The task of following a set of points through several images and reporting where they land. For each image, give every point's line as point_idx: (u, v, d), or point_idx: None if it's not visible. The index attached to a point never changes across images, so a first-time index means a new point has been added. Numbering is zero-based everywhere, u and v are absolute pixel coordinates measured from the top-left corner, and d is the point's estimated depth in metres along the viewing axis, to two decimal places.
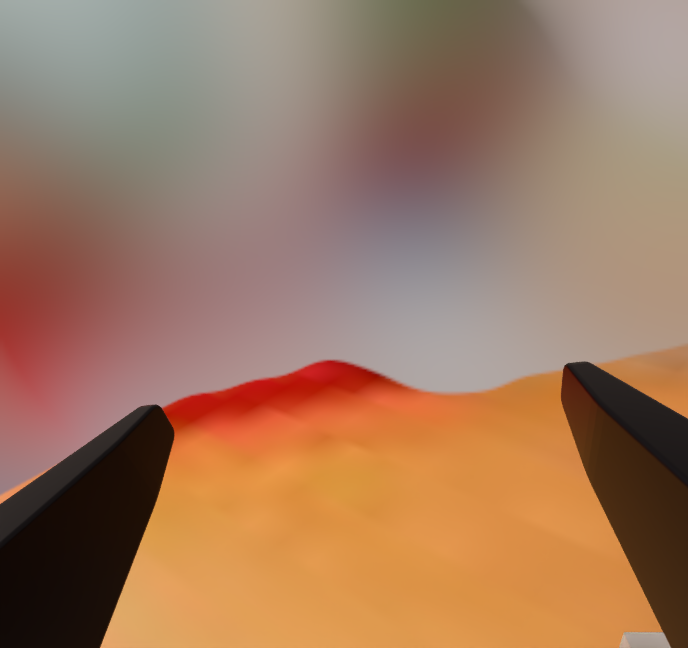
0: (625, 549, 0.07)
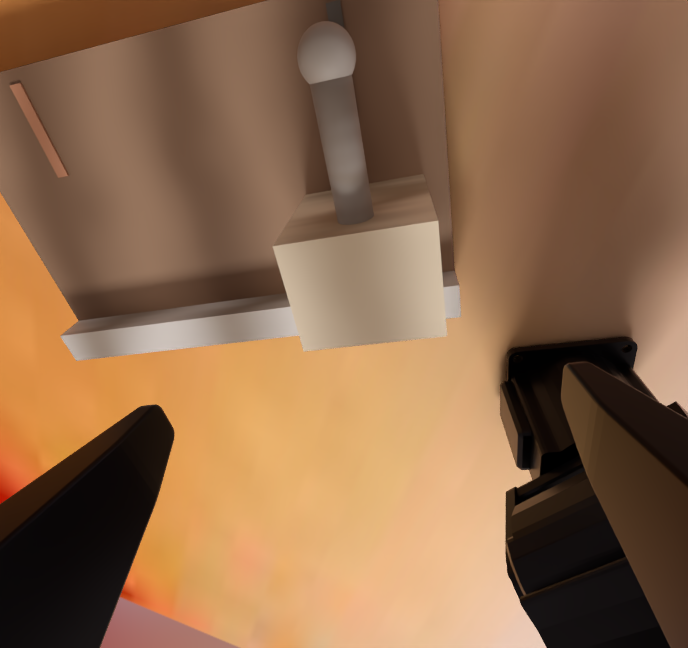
0: (625, 549, 0.07)
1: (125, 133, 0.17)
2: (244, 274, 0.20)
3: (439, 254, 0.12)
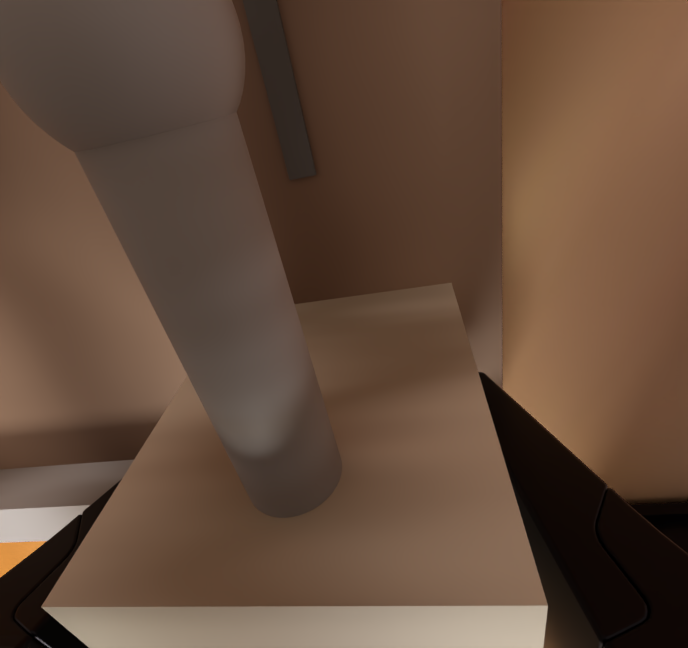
0: None
1: None
2: (138, 427, 0.12)
3: None
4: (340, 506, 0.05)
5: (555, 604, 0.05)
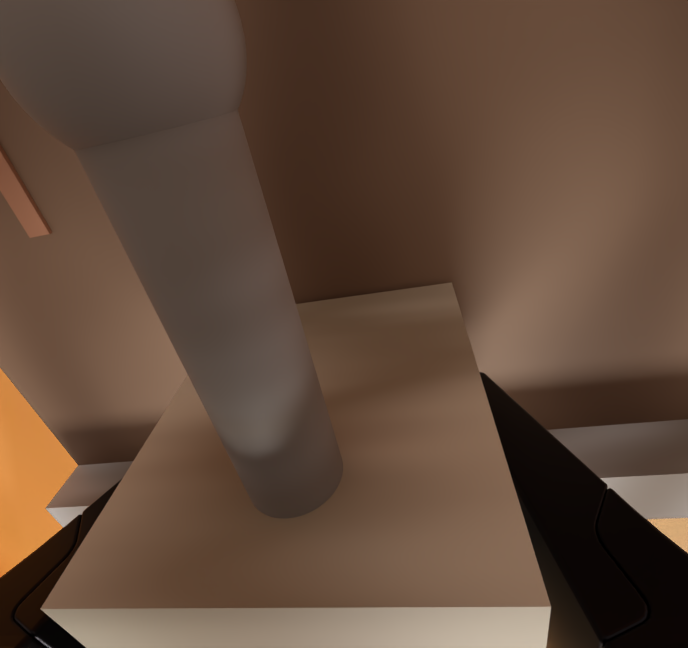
0: None
1: None
2: None
3: None
4: (341, 507, 0.05)
5: (555, 604, 0.05)
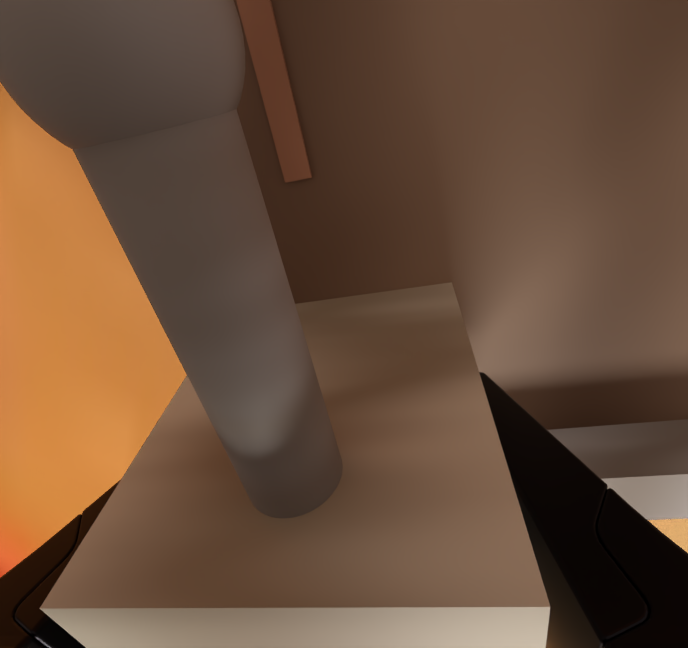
0: None
1: (505, 63, 0.06)
2: (641, 383, 0.09)
3: None
4: (340, 507, 0.05)
5: (555, 604, 0.05)
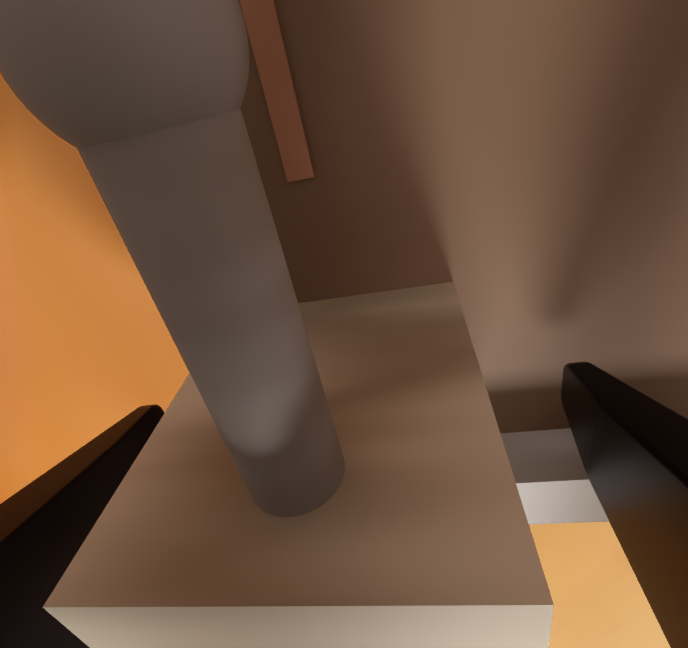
0: (625, 549, 0.07)
1: (508, 62, 0.06)
2: (643, 383, 0.09)
3: None
4: (343, 505, 0.05)
5: None
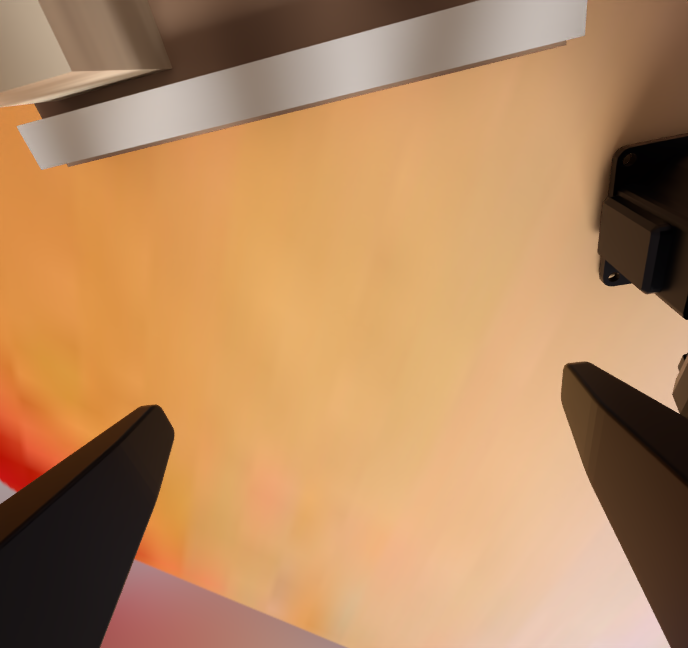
0: (625, 549, 0.07)
1: None
2: (268, 15, 0.14)
3: None
4: None
5: None
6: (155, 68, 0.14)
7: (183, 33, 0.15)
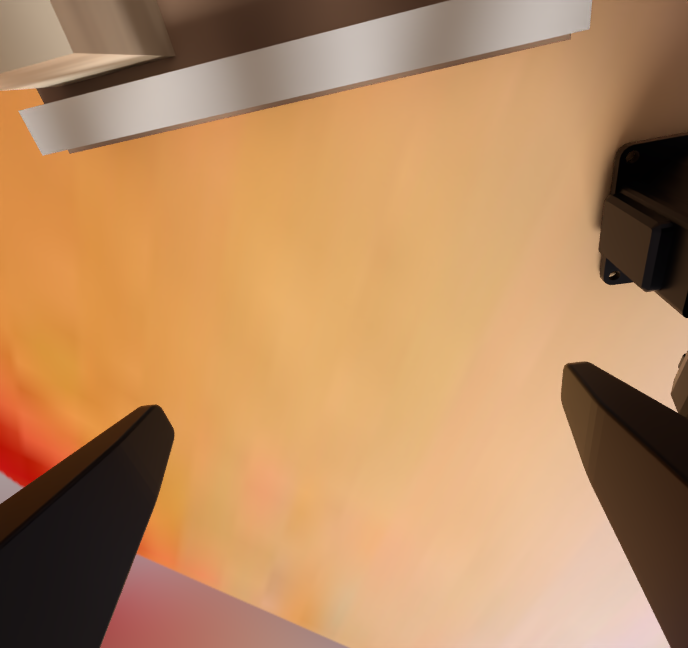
0: (625, 549, 0.07)
1: None
2: (272, 3, 0.14)
3: None
4: None
5: None
6: (158, 55, 0.14)
7: (187, 20, 0.15)
